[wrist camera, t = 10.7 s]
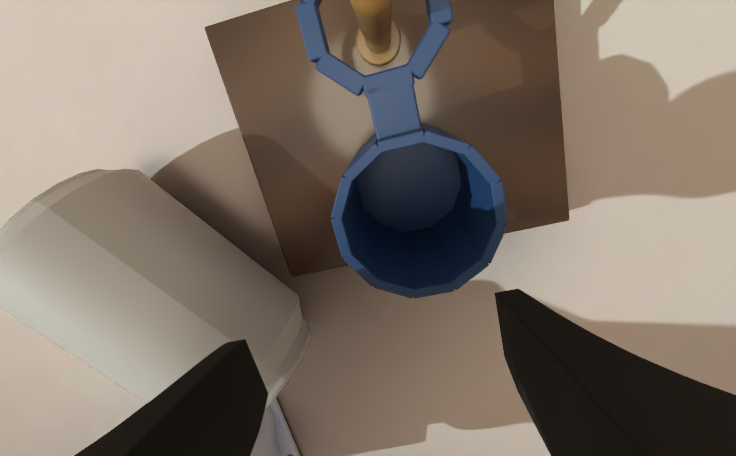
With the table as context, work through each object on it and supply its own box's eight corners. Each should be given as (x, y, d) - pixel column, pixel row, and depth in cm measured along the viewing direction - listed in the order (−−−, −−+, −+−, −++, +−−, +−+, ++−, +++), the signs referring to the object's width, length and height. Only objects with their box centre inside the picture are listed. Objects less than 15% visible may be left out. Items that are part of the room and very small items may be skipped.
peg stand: (558, 213, 18) (705, 309, 10) (296, 267, 20) (230, 388, 12) (535, -67, 14) (742, -302, 6) (216, 32, 16) (30, -43, 8)
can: (11, 297, 17) (217, 432, 19) (-97, 276, 11) (231, 483, 13) (138, 191, 21) (300, 316, 23) (115, 126, 14) (345, 310, 16)
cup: (474, 221, 17) (515, 279, 12) (367, 244, 18) (357, 309, 12) (432, -36, 14) (462, -130, 8) (303, 4, 15) (249, -57, 9)
